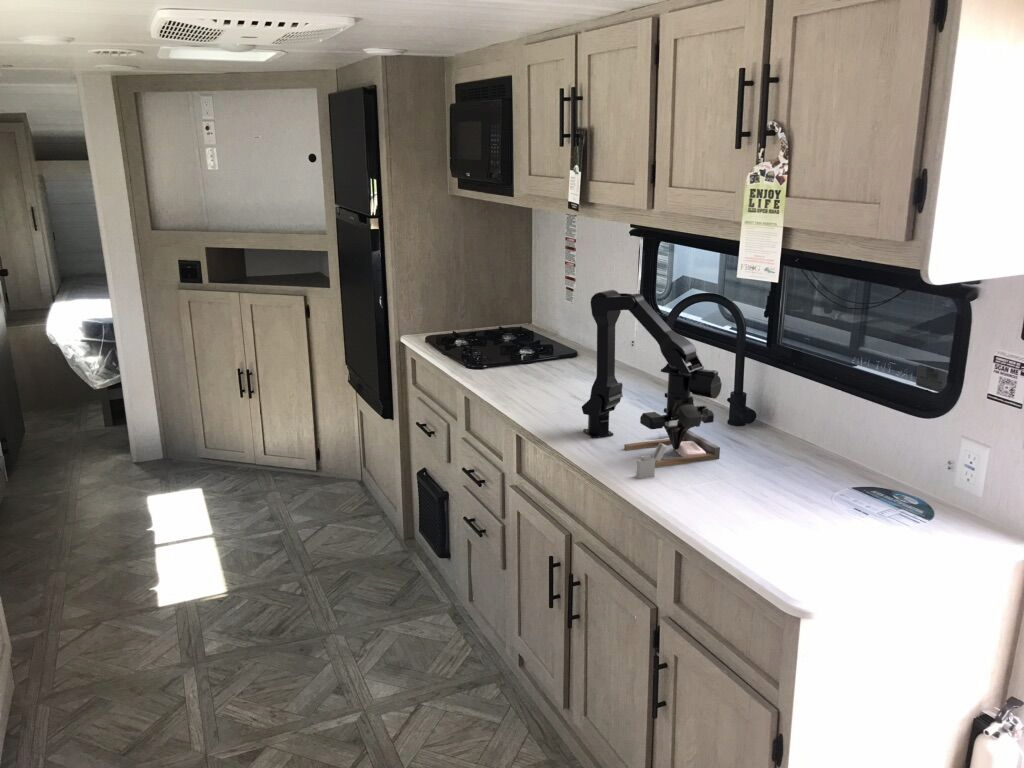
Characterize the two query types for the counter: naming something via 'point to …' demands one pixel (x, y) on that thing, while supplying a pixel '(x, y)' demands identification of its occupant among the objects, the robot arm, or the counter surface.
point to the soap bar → (690, 449)
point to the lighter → (649, 462)
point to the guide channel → (707, 446)
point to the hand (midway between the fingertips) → (675, 449)
